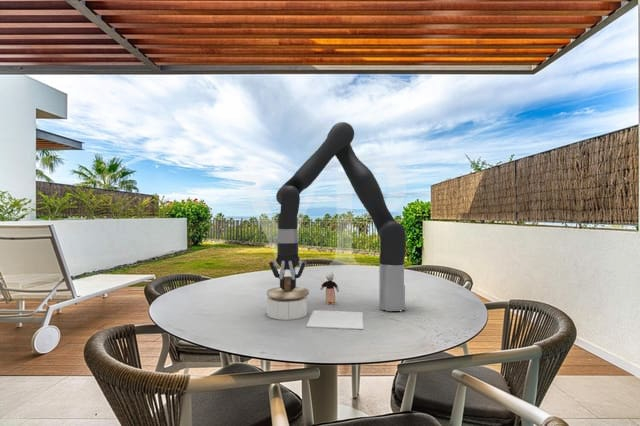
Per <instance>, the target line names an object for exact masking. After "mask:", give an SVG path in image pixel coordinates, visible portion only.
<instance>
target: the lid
mask: <svg viewBox="0 0 640 426" xmlns="http://www.w3.org/2000/svg"><path fill="white" fill-rule="evenodd" d="M291 280H292V277H291V275H290V276H284V290H282V288H280V286H278V287H273V288H270V289H268V290H267V291H266V296H267V297H268V296H269V297H272V298H278V299H294V298H301V297H305V296H307V297H308V295H309V294H310V290H309V289H308V288H305V287H301V286H296V287H295V288H294V290H291Z"/></svg>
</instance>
